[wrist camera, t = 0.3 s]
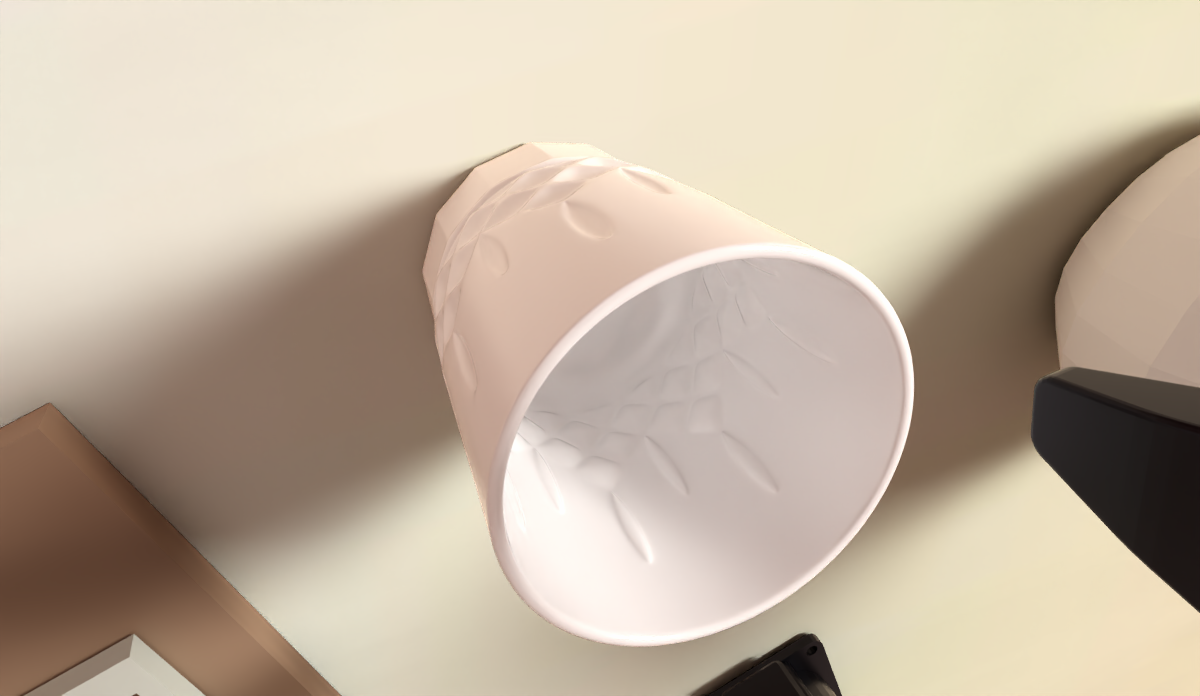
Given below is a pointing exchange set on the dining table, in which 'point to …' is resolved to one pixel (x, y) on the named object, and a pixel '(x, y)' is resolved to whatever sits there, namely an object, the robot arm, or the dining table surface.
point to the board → (116, 577)
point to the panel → (120, 675)
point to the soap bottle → (1139, 279)
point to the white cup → (657, 393)
